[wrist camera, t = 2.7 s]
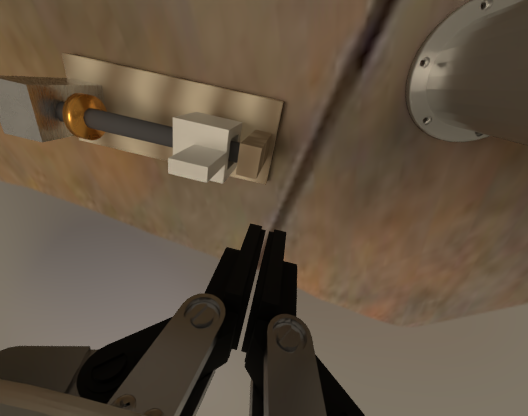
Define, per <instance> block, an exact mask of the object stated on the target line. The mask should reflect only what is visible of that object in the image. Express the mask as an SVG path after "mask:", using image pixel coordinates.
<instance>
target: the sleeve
mask: <svg viewBox="0 0 528 416" xmlns="http://www.w3.org/2000/svg"><path fill="white" fill-rule="evenodd" d="M242 123H243V122H239V121H235V120H231V119H226V118H222V117H217V116H213V115H209V114H204V113H200V112H193V113H189V114H184V115H180V116H176V117H173V156H171V157H169V158H168V173H169V174H173V175H177V176H181V177H185V178H190V179H194V180H198V181H202V182H206V183H207V182H208V181H209V180H210V181H214V182H218V183H224V182H225V181H226V179H227V178H228V177H229V176H230V175H231V173H232V172H233V171H234V170H235V169H236V167H237V163H235V162H231V161H228V159H229V150H230V142H231V141H235V142H240V137H241V130H242Z"/></svg>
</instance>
